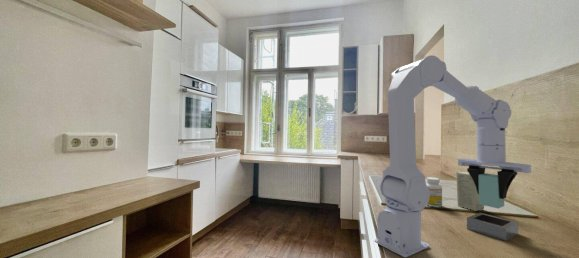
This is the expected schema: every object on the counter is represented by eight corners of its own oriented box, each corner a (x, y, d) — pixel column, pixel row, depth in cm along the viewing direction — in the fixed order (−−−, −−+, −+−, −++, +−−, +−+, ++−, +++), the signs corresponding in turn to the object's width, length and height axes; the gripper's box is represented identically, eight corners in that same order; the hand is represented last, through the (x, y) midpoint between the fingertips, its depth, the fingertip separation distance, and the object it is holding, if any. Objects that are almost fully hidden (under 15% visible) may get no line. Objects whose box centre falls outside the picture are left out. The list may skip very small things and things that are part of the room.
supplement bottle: (425, 201, 84) (425, 176, 85) (442, 204, 81) (442, 178, 81) (423, 205, 80) (423, 178, 80) (441, 208, 77) (441, 180, 77)
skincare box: (484, 210, 75) (484, 174, 75) (475, 211, 74) (474, 175, 74) (465, 204, 81) (464, 171, 81) (456, 205, 80) (455, 171, 80)
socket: (506, 241, 54) (506, 228, 54) (467, 228, 61) (466, 217, 61) (518, 233, 58) (517, 222, 58) (480, 222, 65) (479, 212, 65)
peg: (498, 208, 57) (497, 177, 57) (478, 204, 60) (478, 174, 60) (504, 205, 59) (503, 175, 59) (485, 201, 62) (484, 173, 62)
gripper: (534, 146, 55) (535, 200, 55) (465, 143, 68) (466, 188, 68) (525, 147, 52) (525, 205, 52) (454, 144, 64) (454, 191, 64)
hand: (491, 195), depth 59 cm, fingers closed on peg, 4 cm apart
